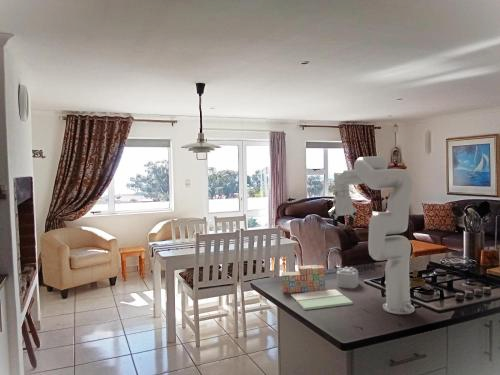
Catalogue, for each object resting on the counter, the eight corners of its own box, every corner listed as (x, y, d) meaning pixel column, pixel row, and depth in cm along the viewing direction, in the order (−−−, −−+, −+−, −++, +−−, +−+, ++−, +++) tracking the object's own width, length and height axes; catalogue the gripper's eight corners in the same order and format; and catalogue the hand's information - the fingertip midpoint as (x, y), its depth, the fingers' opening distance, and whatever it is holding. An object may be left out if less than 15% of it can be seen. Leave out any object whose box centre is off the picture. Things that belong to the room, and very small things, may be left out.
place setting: (394, 288, 189) (393, 277, 189) (413, 280, 202) (412, 269, 202) (429, 296, 176) (429, 284, 176) (447, 286, 189) (447, 274, 189)
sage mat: (353, 304, 170) (352, 301, 170) (304, 310, 165) (304, 307, 165) (344, 297, 179) (344, 295, 179) (297, 303, 174) (297, 301, 174)
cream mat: (343, 296, 180) (342, 294, 180) (296, 302, 176) (296, 300, 176) (335, 291, 189) (335, 289, 189) (291, 296, 185) (291, 294, 185)
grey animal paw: (335, 286, 196) (334, 270, 196) (341, 279, 207) (340, 264, 207) (355, 288, 191) (354, 271, 191) (360, 281, 203) (360, 265, 202)
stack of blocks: (283, 293, 190) (282, 269, 189) (282, 289, 196) (281, 266, 195) (325, 291, 189) (324, 267, 189) (323, 287, 195) (322, 264, 195)
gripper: (331, 195, 195) (333, 228, 196) (359, 193, 201) (361, 224, 202) (324, 194, 202) (325, 226, 203) (351, 192, 208) (352, 223, 209)
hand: (343, 225), depth 202 cm, fingers open, 9 cm apart
